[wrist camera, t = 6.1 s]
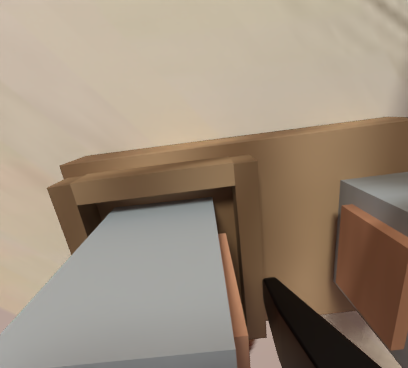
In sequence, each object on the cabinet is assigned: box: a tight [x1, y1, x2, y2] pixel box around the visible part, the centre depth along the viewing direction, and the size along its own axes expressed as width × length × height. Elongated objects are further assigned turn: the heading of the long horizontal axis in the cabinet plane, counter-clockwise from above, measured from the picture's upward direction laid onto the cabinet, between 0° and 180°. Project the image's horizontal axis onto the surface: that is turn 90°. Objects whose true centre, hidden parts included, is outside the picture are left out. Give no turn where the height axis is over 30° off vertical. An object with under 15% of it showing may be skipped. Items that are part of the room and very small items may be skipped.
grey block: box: [0, 197, 250, 368], centre depth 7 cm, size 4×5×6 cm
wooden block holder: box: [47, 117, 408, 368], centre depth 9 cm, size 14×9×6 cm, turn 97°
